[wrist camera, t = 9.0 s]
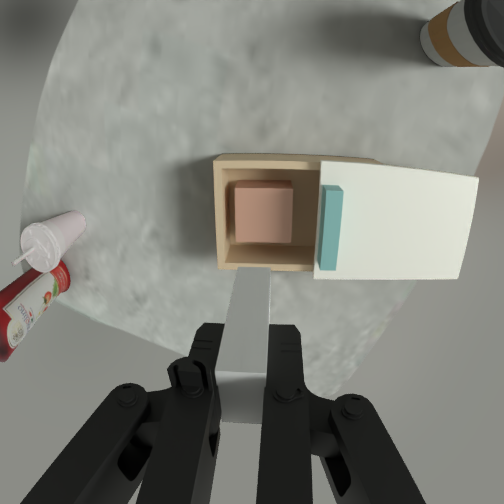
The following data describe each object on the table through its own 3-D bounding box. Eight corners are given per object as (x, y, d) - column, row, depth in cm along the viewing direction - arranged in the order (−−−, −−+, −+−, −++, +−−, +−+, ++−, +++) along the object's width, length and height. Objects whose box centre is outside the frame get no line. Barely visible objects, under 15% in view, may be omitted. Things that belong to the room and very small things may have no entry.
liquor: (78, 293, 46) (-21, 418, 21) (45, 284, 46) (-55, 393, 21) (72, 253, 43) (-50, 374, 18) (38, 246, 43) (-81, 349, 18)
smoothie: (61, 196, 39) (-3, 231, 27) (96, 209, 40) (35, 250, 27) (57, 235, 42) (0, 278, 29) (91, 248, 43) (37, 298, 30)
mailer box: (222, 153, 36) (213, 160, 31) (373, 159, 35) (390, 167, 30) (225, 247, 41) (217, 269, 36) (363, 250, 40) (376, 272, 35)
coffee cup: (446, 87, 30) (521, 85, 17) (399, 40, 29) (462, 11, 15) (473, 49, 27) (547, 38, 14) (430, 4, 26) (494, -30, 12)
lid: (320, 159, 30) (325, 165, 27) (475, 176, 29) (490, 183, 26) (312, 275, 35) (315, 290, 32) (454, 275, 34) (466, 288, 31)
